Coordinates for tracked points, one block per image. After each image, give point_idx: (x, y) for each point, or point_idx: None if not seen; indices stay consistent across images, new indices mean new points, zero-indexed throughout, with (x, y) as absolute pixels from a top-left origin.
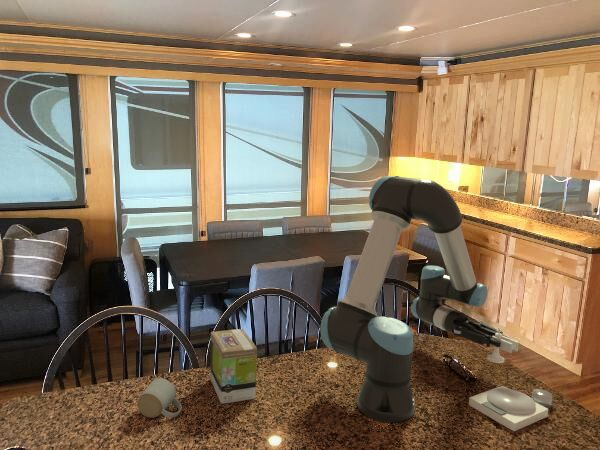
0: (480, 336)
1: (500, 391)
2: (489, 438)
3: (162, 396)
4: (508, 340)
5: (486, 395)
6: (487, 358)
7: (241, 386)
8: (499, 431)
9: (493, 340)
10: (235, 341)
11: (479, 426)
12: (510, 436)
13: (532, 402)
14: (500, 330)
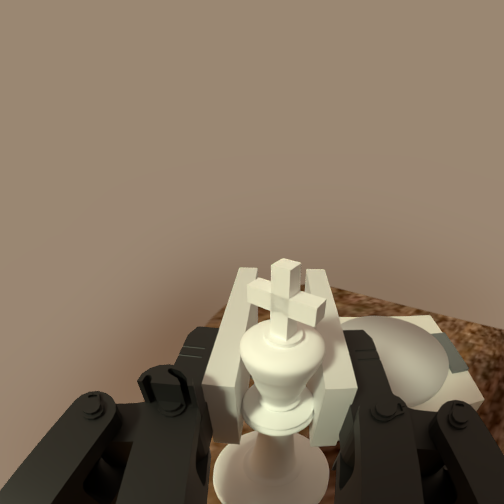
0: (480, 426)
1: (391, 385)
2: (473, 331)
3: None
4: (251, 314)
5: (434, 398)
6: (319, 500)
7: None
8: (450, 337)
9: (380, 363)
10: None
11: (479, 354)
12: (437, 325)
13: (343, 328)
14: (278, 287)
